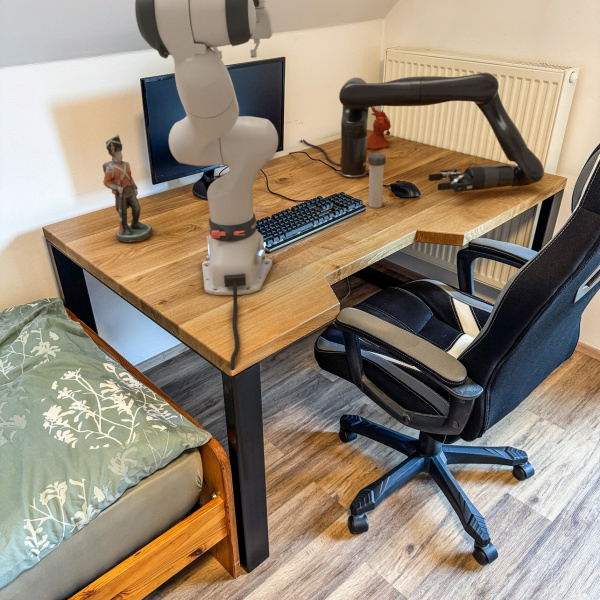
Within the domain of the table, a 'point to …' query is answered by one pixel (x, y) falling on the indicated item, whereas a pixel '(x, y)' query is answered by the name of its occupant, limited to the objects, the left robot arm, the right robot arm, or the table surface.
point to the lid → (377, 159)
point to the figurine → (124, 194)
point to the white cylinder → (376, 186)
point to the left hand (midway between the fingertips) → (236, 57)
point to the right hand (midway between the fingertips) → (433, 182)
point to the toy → (379, 131)
